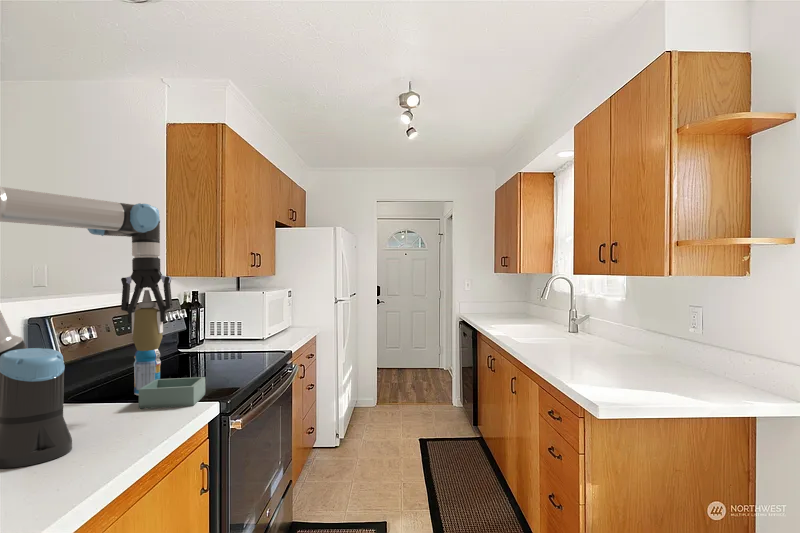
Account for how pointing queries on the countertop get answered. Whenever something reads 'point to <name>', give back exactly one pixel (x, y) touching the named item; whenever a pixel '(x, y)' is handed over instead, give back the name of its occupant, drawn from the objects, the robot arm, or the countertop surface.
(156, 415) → the countertop surface
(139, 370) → the beverage bottle
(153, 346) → the squeeze bottle
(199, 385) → the box
